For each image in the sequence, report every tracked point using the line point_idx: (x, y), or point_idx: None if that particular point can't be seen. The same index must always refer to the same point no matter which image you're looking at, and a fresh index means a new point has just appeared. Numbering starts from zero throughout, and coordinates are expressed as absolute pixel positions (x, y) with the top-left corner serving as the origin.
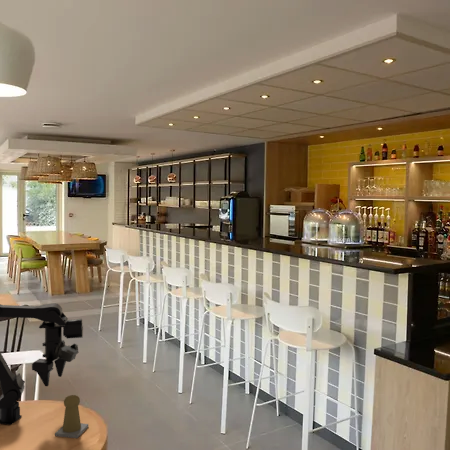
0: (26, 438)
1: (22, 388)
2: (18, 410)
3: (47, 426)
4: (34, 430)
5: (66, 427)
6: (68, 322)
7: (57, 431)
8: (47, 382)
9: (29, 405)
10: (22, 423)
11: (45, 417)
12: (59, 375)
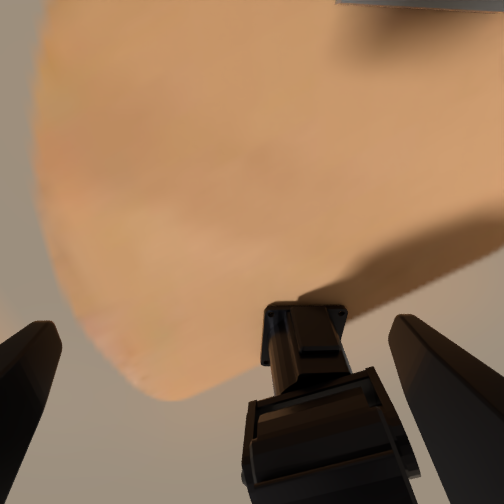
0: (483, 178)
1: (318, 445)
2: (313, 336)
3: (357, 136)
4: (400, 184)
5: None
6: None
7: (487, 5)
8: (465, 356)
9: (147, 333)
10: (325, 273)
11: (250, 204)
12: (51, 350)
